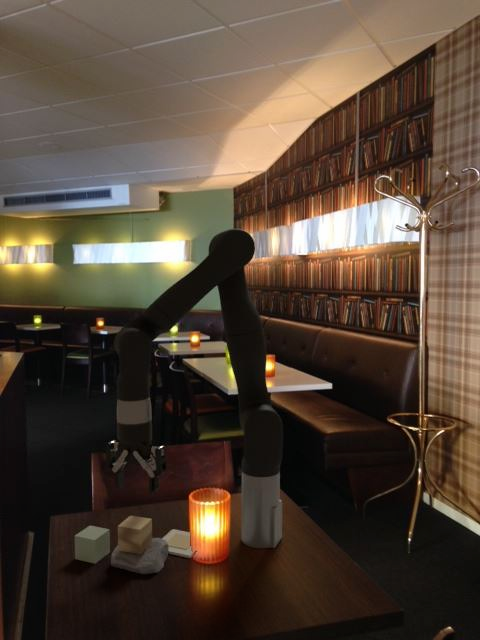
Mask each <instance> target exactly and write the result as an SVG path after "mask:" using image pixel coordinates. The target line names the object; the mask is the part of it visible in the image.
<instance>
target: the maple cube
mask: <svg viewBox="0 0 480 640" xmlns="http://www.w3.org/2000/svg"><path fill="white" fill-rule="evenodd" d="M152 538H153V519H152V518H148V517H142V516H135V515H129V516H128V517H127V518H126V519H124V520H122V522H121V523H120V524H118V525H117V545H118V550H119V551H125V552H131V553H137V554H141V553H142V552H143V551H144V550H145V549H146V548H147V547H148V546H149V545H150V544H151V543H152Z"/></svg>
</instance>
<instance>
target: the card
mask: <svg viewBox="0 0 480 640" xmlns="http://www.w3.org/2000/svg"><path fill="white" fill-rule="evenodd" d="M190 533H191V532H189V531H183V530H180V529H173V528H172V529H171V530H170V531H169V532H168V533H166V535H164V536H163V537H162V538H161V539H163V540H166V542H167V543H168V546H169V549H168V555H173V556H177V557H178V556H179V557H182V558H183V557H184V558H187V559H191V558H192V557H193V556H194V555H195V554H194V553H193V552H192V551H191V546H190Z"/></svg>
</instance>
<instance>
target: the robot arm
mask: <svg viewBox="0 0 480 640" xmlns="http://www.w3.org/2000/svg"><path fill="white" fill-rule="evenodd" d="M255 252H256V243H255V240H254V238H253V237H252V235H251V234H250V233H249V232H248V231H246V230H244V229H242V228H230V229H226V230H224V231H222V232H219V233H217V234H215V235H214V236H213V237H212V238H211V240H210V243H209V245H208V254H207V256H206V257H205V258H204V259H203V260H202V261H201V262H200V263H199V264H198V265H197V266H196V267H195V268H193V269H192V270H191V271H190V272H188V273H187V274H186V275H184V276H183V277H182V278H180V279H179V280H178V281H176V282H175V283H173V284H172V285H171V286H170V287H168V289H166V290H165V291H164V292H163V293H162V294H160V295H159V296H158V297H157V298H156V299H155V300H153V302H152V303H151V304H150V305H149V306H148V307H147V308H146V309H145V310H144V311H143V312H141V313H140V314H139V315H137V316H135V318H133V319H132V320H130V321H129V322H128V323H127V324H125V325H124V326H123V327H122V328H121V329H119V331H118V332H117V333H116V335H115V337H114V340H113V348H114V350H115V352H116V353H117V354H118V362H119V364H118V365H119V374H118V375H117V379H116V380H117V381H116V391H117V393H116V394H117V396H116V397H117V402H116V429H117V432H116V433H117V434H116V435H117V436H116V437H117V440H118V441H116V440H115V439H113V440H110V441H109V442H107V443H106V444H105V468H106V469H107V470H112V472H113V477H114V478H113V479H114V483H113V484H114V486H115V488H116V489H117V490H118V489H119V490H121V489H122V488H124V486H125V470H124V469H123V468H124V467H125V466H126V464H127V465H136V466H141V467H142V469H143V470H145V471H146V473H147V475H148V476H149V477H148V480H149V481H148V487H149V488H148V491H149V494H152V495H153V494H155V493H157V491H158V490H159V488H160V476H162V475H164V474H165V473H166V472H167V471H168V468H167V467H168V465H167V453H166V447H165V445H161V444H160V446H155V445H154V446H153V443H152V440H153V421H152V420H153V419H152V418H153V417H152V403H151V391H150V390H151V387H150V385H151V384H150V372H151V363H152V362H151V361H152V342H154V341H155V340H156V339H157V338H158V337H159V336H161V335H163V334H166V333H167V332H169V331H171V330H172V329H173V328H174V327H175V326H176V325H177V324H178V323H179V322H180V321H181V320H182V319H184V317H186V316H187V314H189V312H190V311H192V310H193V308H194V307H196V305H198V303H200V301H202V300H203V299H204V298H205V297H206V296H207V295H208V294H209V293H210V292H211V291H212V290H214V289H215V288H216V287H217V291H218V296H219V297H218V298H219V301H220V302H219V304H220V311H221V316H222V322H223V328H224V336H225V342H226V347H227V352H228V356H229V361H230V365H231V369H232V373H233V377H234V379H235V383H236V389H237V399H238V411H239V412H238V414H239V415H238V416H239V425H240V429H241V430H242V432H243V434H244V435H243V440H244V441H243V442H244V443H243V445H244V446H243V458H242V459H241V532H240V533H241V541H242V543H243V544H244V545H246V546H247V547H251V548H256V549H269V548H271V549H275V548H277V545H278V544H279V543H280V541H281V539H282V538H283V500H282V499H280V497H281V493H280V491H281V489H280V488H281V484H280V482H281V481H280V480H281V479H280V478H281V473H280V472H281V469H280V468H281V463H282V460H283V447H284V445H283V443H284V426H283V425H284V424H283V421H282V418H281V416H280V414H278V413H277V411H276V410H275V409H274V408H273V406H272V402H271V399H270V395H269V391H268V386H267V380H266V374H267V373H266V372H267V371H266V370H267V369H266V368H267V341H266V338H265V331H264V325H263V321H262V319H261V316H260V313H259V312H258V311H259V310H258V309H257V306H256V305H255V303H254V300H253V298H252V296H251V294H250V292H249V288H248V285H247V280H246V272H245V266H247V265H248V264H249V263H250V262H252V260H253V258H254V255H255ZM117 451H118V452H119V454H120V456H119V457H118V459H117ZM152 454H153V455H152ZM154 457H155V459H154Z"/></svg>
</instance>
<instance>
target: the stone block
mask: <svg viewBox="0 0 480 640" xmlns="http://www.w3.org/2000/svg"><path fill="white" fill-rule="evenodd" d="M168 549H169V546H168V543H167V542H166V540H163V539H162V538H161V537H152V543H151V544H150V545H149V546H148V547H147V548H146V549H145V550H144V551H143V552H142V553H141V554H137V553H131V552H125V551H119V550H118V544H117V545H116V546H115V548H114V549H113V552H112V553H111V557H110V565H111V566H112V567H114V568H118V569H122V570H126V571H129V572H133V573H137V574H141V575H147V574H156V573H159V572H160V571H162V569H163V568H164V566H165V565H164V564H165V561H166V560H167V558H168V555H169V554H168Z"/></svg>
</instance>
